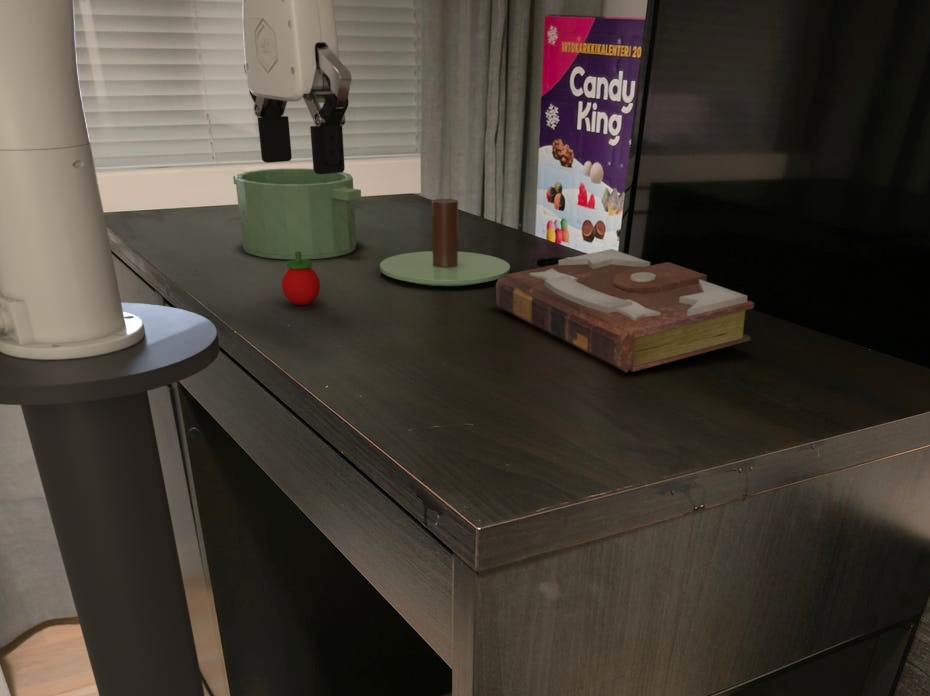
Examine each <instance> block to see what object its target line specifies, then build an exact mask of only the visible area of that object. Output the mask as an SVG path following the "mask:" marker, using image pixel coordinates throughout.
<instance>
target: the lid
mask: <svg viewBox="0 0 930 696" xmlns="http://www.w3.org/2000/svg"><path fill="white" fill-rule="evenodd" d="M458 230H459V201H458V200H457V199H455V198H454V199H453V198H434V199H432V200H431V235H432V237H431V241H432V243H431V245H432V246H431V247H432V248H431V249H432V250H430V251H429V250H428V251H427V250H425V251H416V252H415V251H414V252H408V253H407V252H406V253H401V254H397V255H392V256H390V257H387V258H385V259H382V261H381V262H380V263H379V271H380V272H381V273H382V274H383V275H385V276H387V277H389V278H391V279H394V280H399V281H404V282H408V283H412V284H417V285H423V286H431V287H432V286H433V287H462V286H472V285H478V284H482V283H488V282H492V281H496V280H498V279H499V278H500V277H501V276H503V277H505V276H506V274H510V272H511V265H510V263H509V262H508V261H506V260H504V259H503V258H502V259H501V258H500V257H496V256H492V255H488V254H483V253H476V252H470V251H469V252H468V251H459V250H458V249H459V236H458V235H459V231H458Z"/></svg>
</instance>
